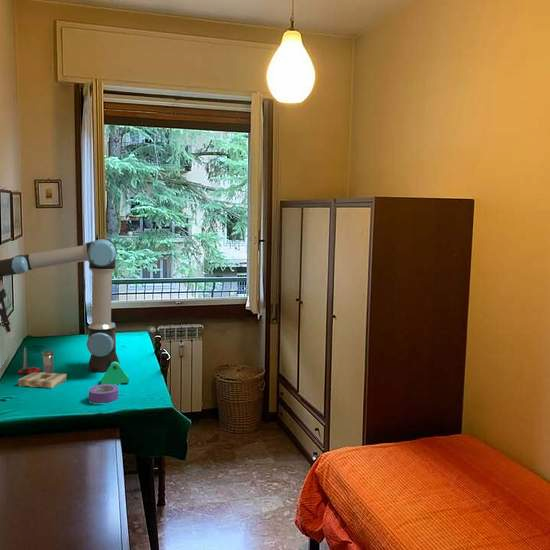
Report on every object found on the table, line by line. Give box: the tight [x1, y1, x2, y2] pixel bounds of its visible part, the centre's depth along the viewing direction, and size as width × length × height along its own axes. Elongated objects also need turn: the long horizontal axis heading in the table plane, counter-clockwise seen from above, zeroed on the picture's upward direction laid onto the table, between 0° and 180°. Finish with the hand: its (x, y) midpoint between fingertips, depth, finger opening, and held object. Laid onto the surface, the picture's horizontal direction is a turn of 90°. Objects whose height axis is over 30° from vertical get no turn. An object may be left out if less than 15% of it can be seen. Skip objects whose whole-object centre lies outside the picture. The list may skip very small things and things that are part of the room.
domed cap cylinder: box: [41, 350, 55, 373], centre depth 257 cm, size 5×5×11 cm
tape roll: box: [88, 384, 119, 404], centre depth 224 cm, size 12×12×5 cm
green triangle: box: [100, 362, 130, 385], centre depth 246 cm, size 12×8×10 cm, turn 106°
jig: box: [18, 371, 68, 389], centre depth 245 cm, size 16×12×3 cm
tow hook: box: [17, 346, 41, 375], centre depth 262 cm, size 8×13×9 cm
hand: (8, 332), depth 252 cm, fingers open, 13 cm apart
